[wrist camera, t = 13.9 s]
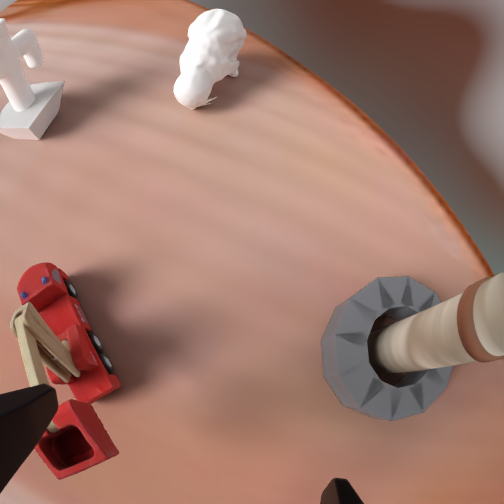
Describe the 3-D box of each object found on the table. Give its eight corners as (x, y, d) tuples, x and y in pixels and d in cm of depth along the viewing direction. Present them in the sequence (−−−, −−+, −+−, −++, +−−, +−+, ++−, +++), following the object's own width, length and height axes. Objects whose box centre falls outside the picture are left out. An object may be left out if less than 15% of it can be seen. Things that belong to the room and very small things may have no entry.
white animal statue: (251, 7, 25) (215, 65, 22) (246, 61, 33) (217, 127, 30) (196, 1, 25) (147, 57, 22) (199, 54, 33) (161, 117, 30)
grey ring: (437, 400, 20) (459, 400, 17) (326, 425, 19) (340, 431, 16) (423, 286, 24) (443, 274, 21) (316, 291, 23) (329, 279, 20)
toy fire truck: (68, 270, 22) (3, 210, 13) (153, 430, 18) (105, 463, 9) (38, 290, 21) (-36, 241, 12) (117, 449, 17) (53, 486, 8)
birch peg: (411, 359, 21) (541, 324, 10) (374, 386, 21) (507, 374, 9) (390, 318, 23) (511, 255, 11) (352, 342, 22) (473, 294, 10)
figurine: (78, 98, 29) (45, -8, 16) (37, 159, 26) (-24, 48, 12) (37, 99, 29) (0, 8, 15) (-3, 155, 26) (-61, 63, 12)
